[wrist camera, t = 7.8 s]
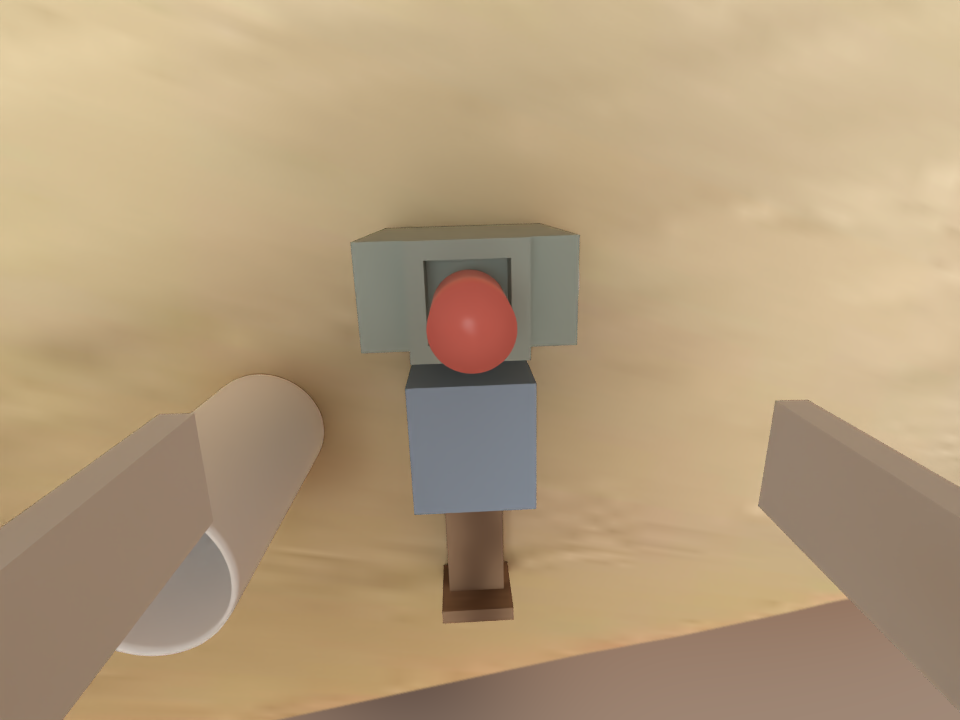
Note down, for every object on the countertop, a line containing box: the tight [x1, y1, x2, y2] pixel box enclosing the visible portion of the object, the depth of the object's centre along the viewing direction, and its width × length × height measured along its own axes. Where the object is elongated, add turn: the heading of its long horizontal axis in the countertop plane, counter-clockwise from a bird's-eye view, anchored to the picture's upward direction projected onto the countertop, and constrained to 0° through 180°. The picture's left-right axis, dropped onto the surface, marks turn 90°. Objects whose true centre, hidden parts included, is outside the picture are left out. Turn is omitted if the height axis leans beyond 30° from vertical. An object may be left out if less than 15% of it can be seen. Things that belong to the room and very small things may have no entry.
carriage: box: [405, 360, 536, 515], centre depth 32 cm, size 6×7×11 cm
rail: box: [442, 511, 514, 623], centre depth 37 cm, size 5×21×5 cm, turn 2°
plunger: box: [426, 270, 517, 374], centre depth 19 cm, size 3×3×4 cm
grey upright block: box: [351, 223, 580, 365], centre depth 29 cm, size 11×5×14 cm, turn 92°
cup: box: [116, 374, 324, 656], centre depth 31 cm, size 8×8×16 cm
